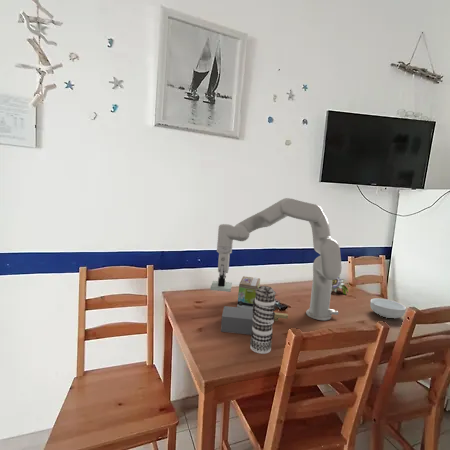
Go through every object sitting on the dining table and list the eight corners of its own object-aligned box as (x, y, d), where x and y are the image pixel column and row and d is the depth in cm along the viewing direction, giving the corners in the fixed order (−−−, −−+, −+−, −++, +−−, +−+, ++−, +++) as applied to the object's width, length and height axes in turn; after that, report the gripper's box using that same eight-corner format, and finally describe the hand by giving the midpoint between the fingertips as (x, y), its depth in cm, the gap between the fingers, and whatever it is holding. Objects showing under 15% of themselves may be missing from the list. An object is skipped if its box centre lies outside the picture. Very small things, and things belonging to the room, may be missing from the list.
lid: (231, 285, 157) (232, 276, 156) (230, 291, 147) (231, 282, 146) (212, 283, 157) (213, 274, 157) (210, 289, 147) (211, 280, 147)
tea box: (255, 314, 153) (258, 286, 151) (236, 311, 155) (238, 283, 153) (258, 303, 168) (260, 277, 166) (240, 300, 170) (242, 275, 168)
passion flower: (330, 301, 196) (320, 282, 199) (339, 294, 204) (329, 276, 207) (345, 296, 187) (334, 276, 190) (355, 289, 195) (344, 270, 198)
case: (258, 323, 142) (260, 309, 141) (259, 335, 131) (260, 320, 130) (223, 320, 143) (224, 306, 142) (220, 331, 132) (221, 316, 131)
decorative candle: (259, 356, 114) (265, 293, 111) (244, 345, 121) (249, 286, 118) (276, 350, 120) (282, 290, 116) (261, 340, 127) (266, 283, 124)
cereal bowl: (404, 315, 166) (405, 302, 165) (404, 326, 151) (406, 312, 150) (370, 307, 174) (371, 295, 173) (367, 316, 160) (369, 304, 159)
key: (286, 320, 148) (287, 313, 148) (287, 322, 146) (288, 315, 145) (264, 318, 149) (265, 311, 149) (264, 320, 147) (265, 313, 146)
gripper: (230, 253, 141) (227, 290, 143) (232, 246, 158) (230, 280, 160) (215, 251, 142) (212, 289, 144) (218, 245, 158) (216, 278, 160)
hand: (221, 284), depth 152 cm, fingers closed on lid, 4 cm apart
